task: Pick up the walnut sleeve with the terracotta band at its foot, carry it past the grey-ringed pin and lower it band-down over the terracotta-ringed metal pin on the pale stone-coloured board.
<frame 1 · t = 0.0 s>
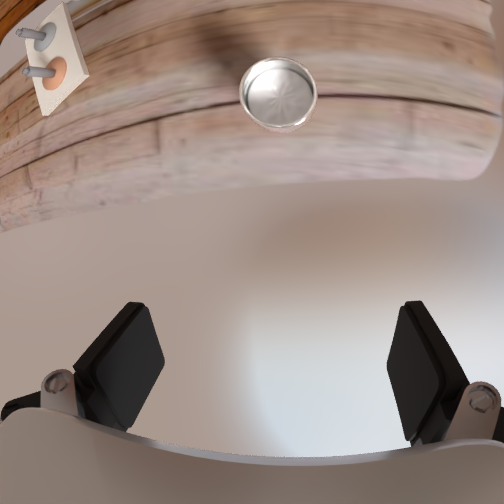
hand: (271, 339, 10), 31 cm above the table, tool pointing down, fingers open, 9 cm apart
beer glass: (283, 110, 35), on the table
pin board: (55, 55, 33), on the table
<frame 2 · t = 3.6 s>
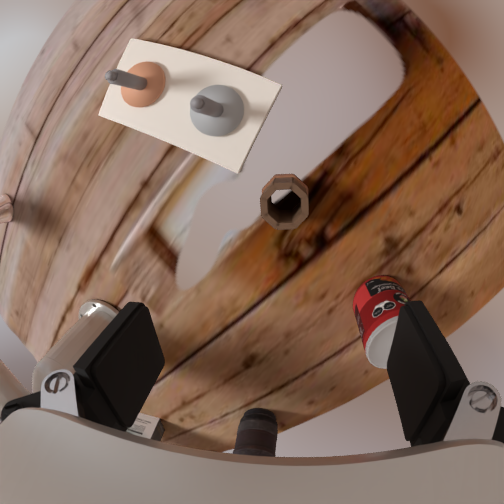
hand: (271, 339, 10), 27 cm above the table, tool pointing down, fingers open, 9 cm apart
beer glass: (7, 207, 42), on the table
cake mix box: (125, 413, 60), on the table
pin board: (182, 97, 32), on the table
canned food: (376, 296, 39), on the table
sleeve: (285, 195, 35), on the table
camera lens: (260, 416, 52), on the table
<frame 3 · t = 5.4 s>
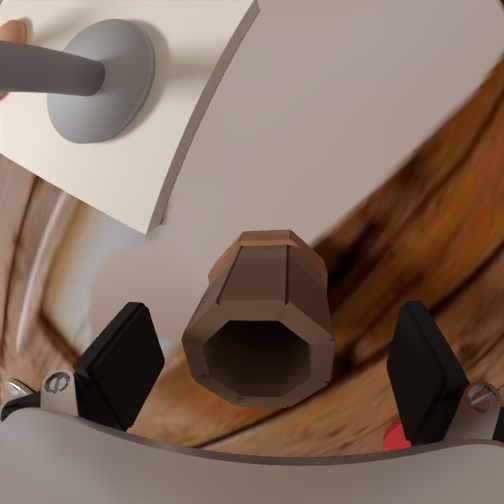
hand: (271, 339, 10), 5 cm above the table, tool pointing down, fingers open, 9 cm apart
pin board: (55, 69, 11), on the table
canned food: (421, 422, 18), on the table
sleeve: (270, 282, 15), on the table
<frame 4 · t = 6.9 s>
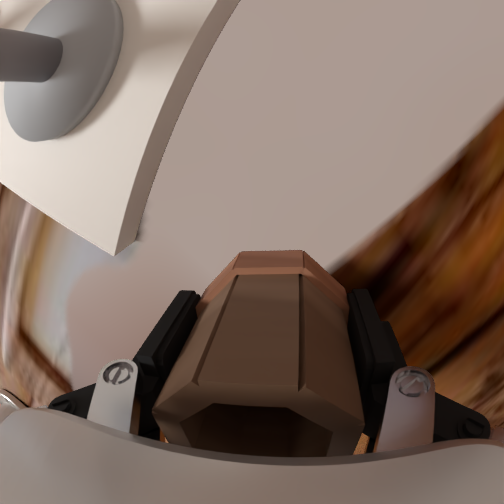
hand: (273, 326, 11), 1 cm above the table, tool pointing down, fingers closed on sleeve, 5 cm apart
pin board: (22, 57, 8), on the table
sleeve: (274, 314, 11), on the table, touching gripper
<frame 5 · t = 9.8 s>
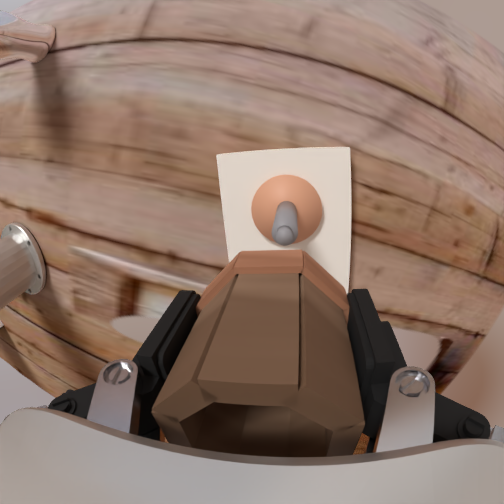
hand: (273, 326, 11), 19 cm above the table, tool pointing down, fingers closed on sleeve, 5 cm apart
beer glass: (42, 43, 22), on the table
pin board: (289, 257, 29), on the table
sleeve: (274, 313, 11), point 18 cm above the table, touching gripper
when the fingers open (4 cm above the table, at t = 12.9 s): sleeve drops 1 cm, resting on pin board.
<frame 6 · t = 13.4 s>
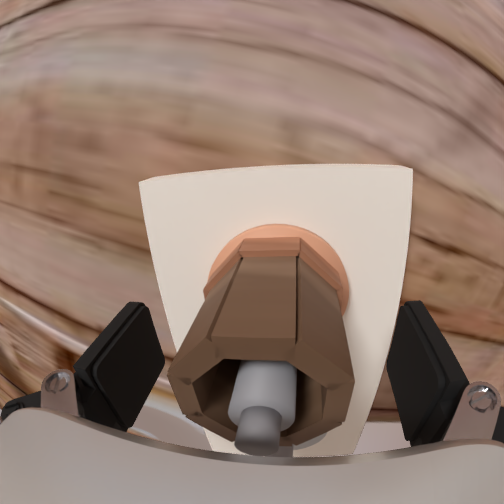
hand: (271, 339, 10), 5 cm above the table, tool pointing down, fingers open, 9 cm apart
pin board: (282, 355, 17), on the table
sleeve: (275, 296, 13), point 2 cm above the table, touching pin board
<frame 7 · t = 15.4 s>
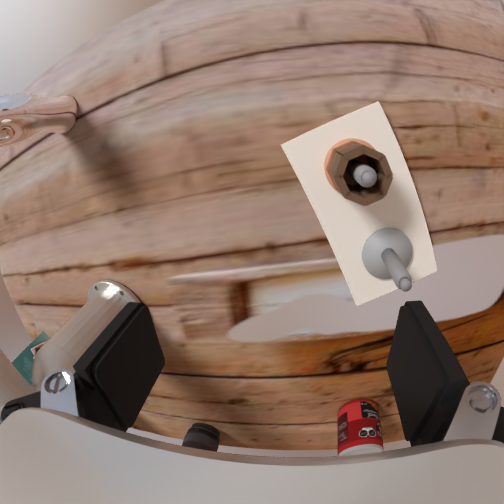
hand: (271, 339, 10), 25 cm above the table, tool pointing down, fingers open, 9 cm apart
beer glass: (65, 114, 33), on the table
cake mix box: (73, 363, 57), on the table
pin board: (369, 208, 31), on the table
canned food: (357, 408, 46), on the table
sleeve: (353, 167, 28), point 2 cm above the table, touching pin board
camera lens: (206, 429, 57), on the table
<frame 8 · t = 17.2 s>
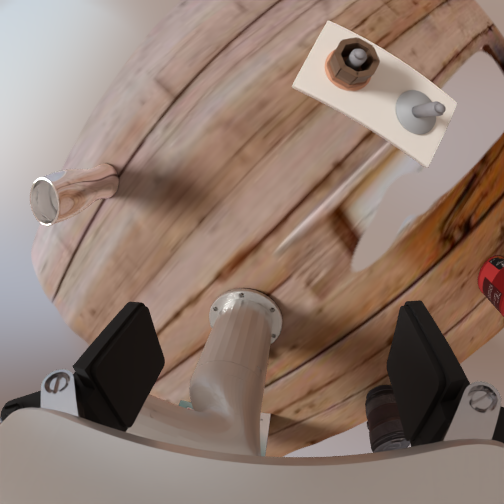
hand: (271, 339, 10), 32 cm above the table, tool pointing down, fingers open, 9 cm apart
beer glass: (105, 180, 43), on the table
cake mix box: (225, 414, 61), on the table
pin board: (380, 91, 32), on the table
canned food: (490, 272, 39), on the table
sleeve: (348, 68, 30), point 2 cm above the table, touching pin board
camera lens: (380, 393, 53), on the table
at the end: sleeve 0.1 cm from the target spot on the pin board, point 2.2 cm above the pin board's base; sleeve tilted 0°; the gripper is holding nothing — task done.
